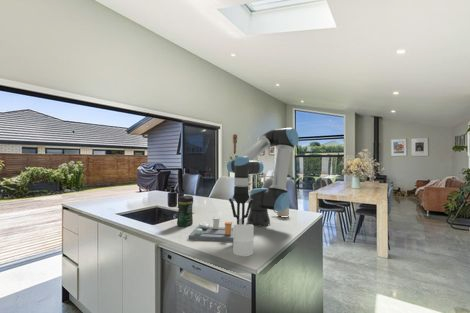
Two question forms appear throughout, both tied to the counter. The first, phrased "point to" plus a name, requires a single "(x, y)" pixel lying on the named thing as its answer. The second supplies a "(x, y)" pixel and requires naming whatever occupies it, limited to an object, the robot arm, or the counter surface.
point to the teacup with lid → (283, 212)
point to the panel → (211, 234)
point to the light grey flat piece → (204, 224)
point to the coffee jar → (185, 211)
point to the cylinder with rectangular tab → (243, 240)
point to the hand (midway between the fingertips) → (240, 230)
